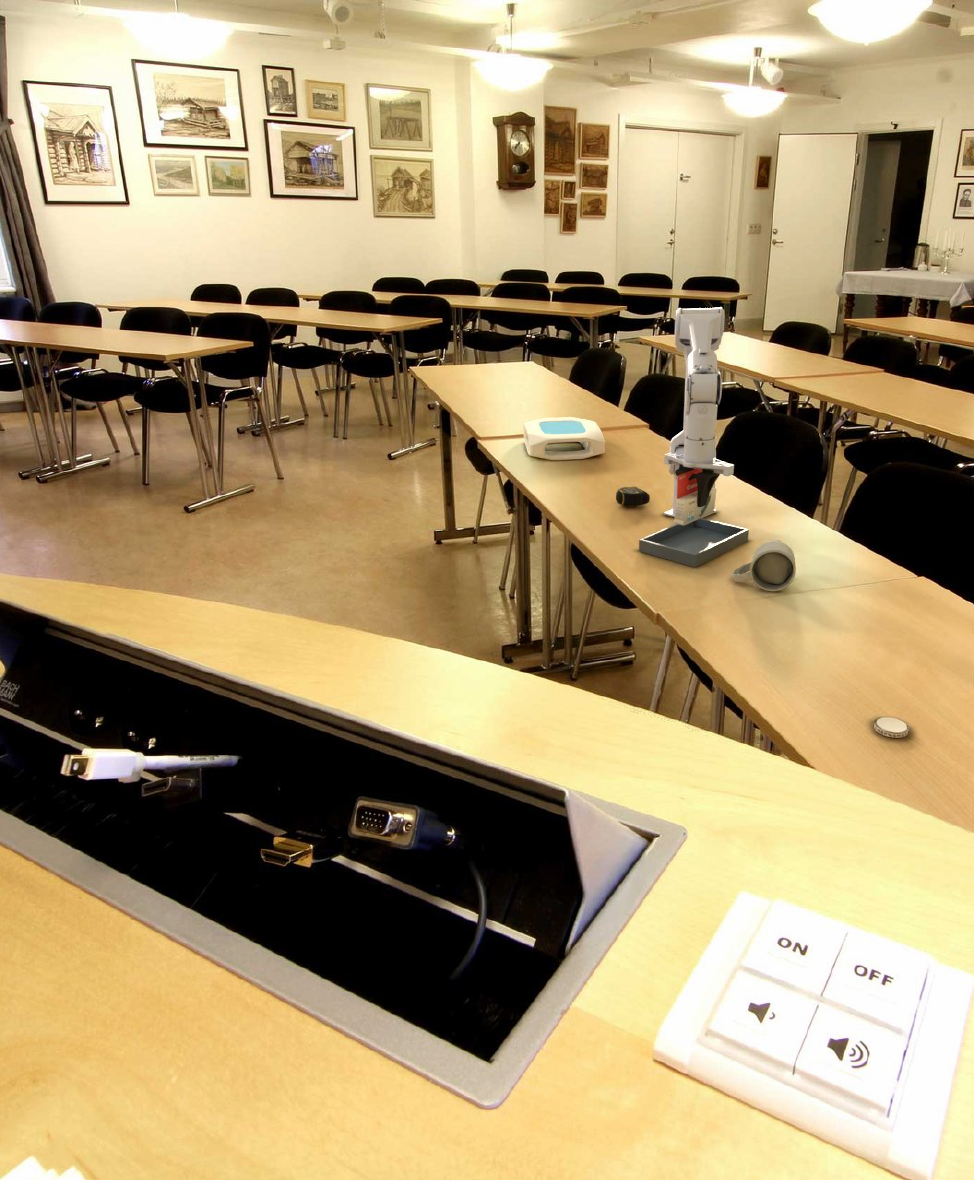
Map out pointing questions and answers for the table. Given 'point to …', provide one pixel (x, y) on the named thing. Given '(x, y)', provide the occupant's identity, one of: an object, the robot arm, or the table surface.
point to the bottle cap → (891, 727)
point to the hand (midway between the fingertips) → (695, 504)
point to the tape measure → (632, 497)
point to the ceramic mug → (769, 567)
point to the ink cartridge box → (691, 500)
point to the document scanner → (563, 437)
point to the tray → (693, 541)
